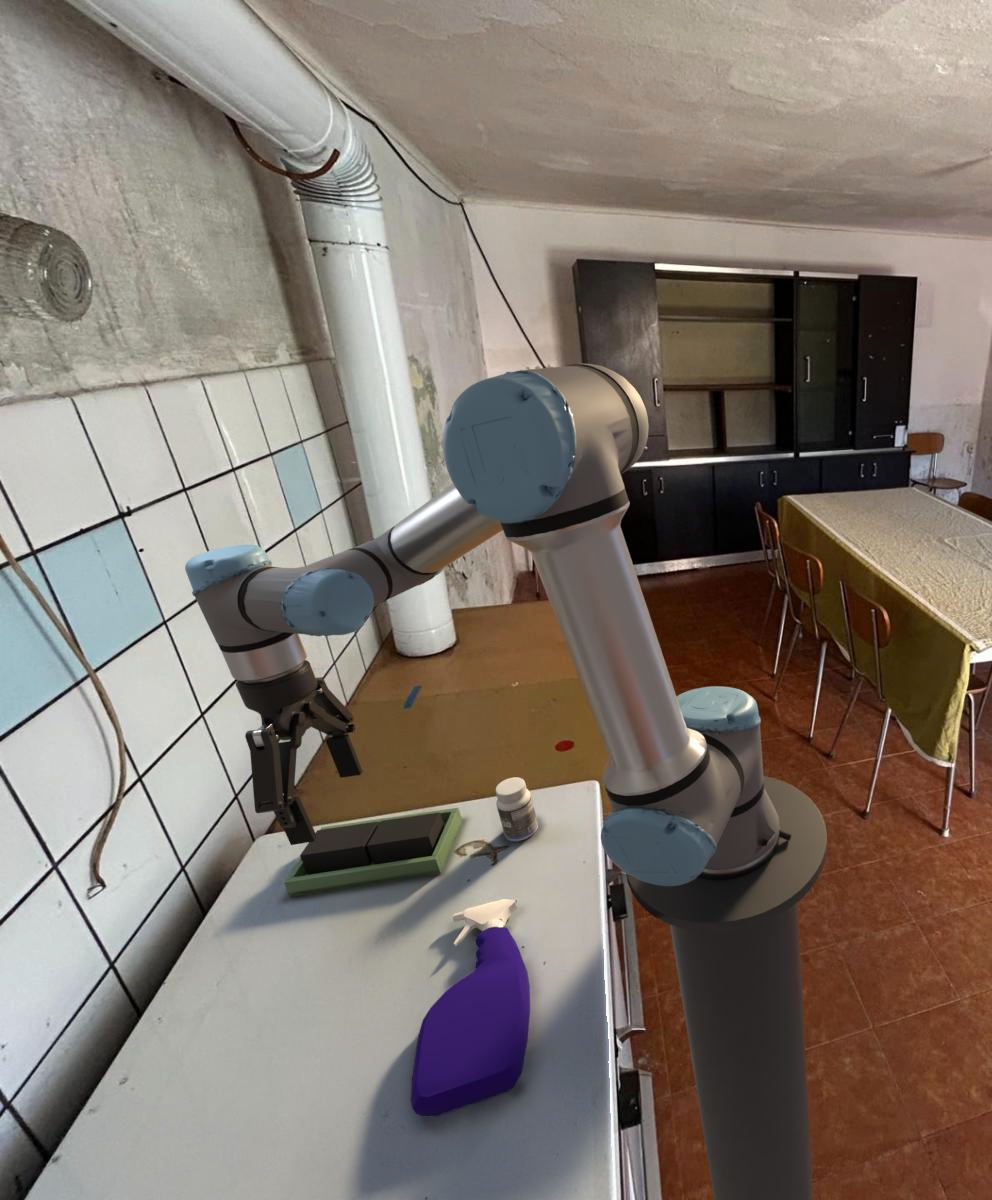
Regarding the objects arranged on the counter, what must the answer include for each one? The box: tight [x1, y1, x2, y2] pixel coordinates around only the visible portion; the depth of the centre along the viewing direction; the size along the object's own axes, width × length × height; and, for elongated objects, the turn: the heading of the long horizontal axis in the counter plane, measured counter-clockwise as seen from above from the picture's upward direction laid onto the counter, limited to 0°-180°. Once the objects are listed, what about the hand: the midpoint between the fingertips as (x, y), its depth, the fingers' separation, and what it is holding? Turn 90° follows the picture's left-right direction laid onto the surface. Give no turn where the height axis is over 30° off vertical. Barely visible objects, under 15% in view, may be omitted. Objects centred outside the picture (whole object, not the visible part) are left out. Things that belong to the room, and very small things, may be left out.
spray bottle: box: [410, 898, 531, 1117], centre depth 73 cm, size 3×11×24 cm
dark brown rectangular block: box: [299, 822, 379, 875], centre depth 92 cm, size 8×5×4 cm, turn 100°
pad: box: [367, 812, 445, 865], centre depth 94 cm, size 8×5×4 cm, turn 100°
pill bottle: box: [495, 777, 539, 842], centre depth 96 cm, size 5×5×8 cm
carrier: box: [283, 807, 463, 898], centre depth 94 cm, size 19×11×3 cm, turn 100°
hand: (329, 805), depth 89 cm, fingers open, 13 cm apart
